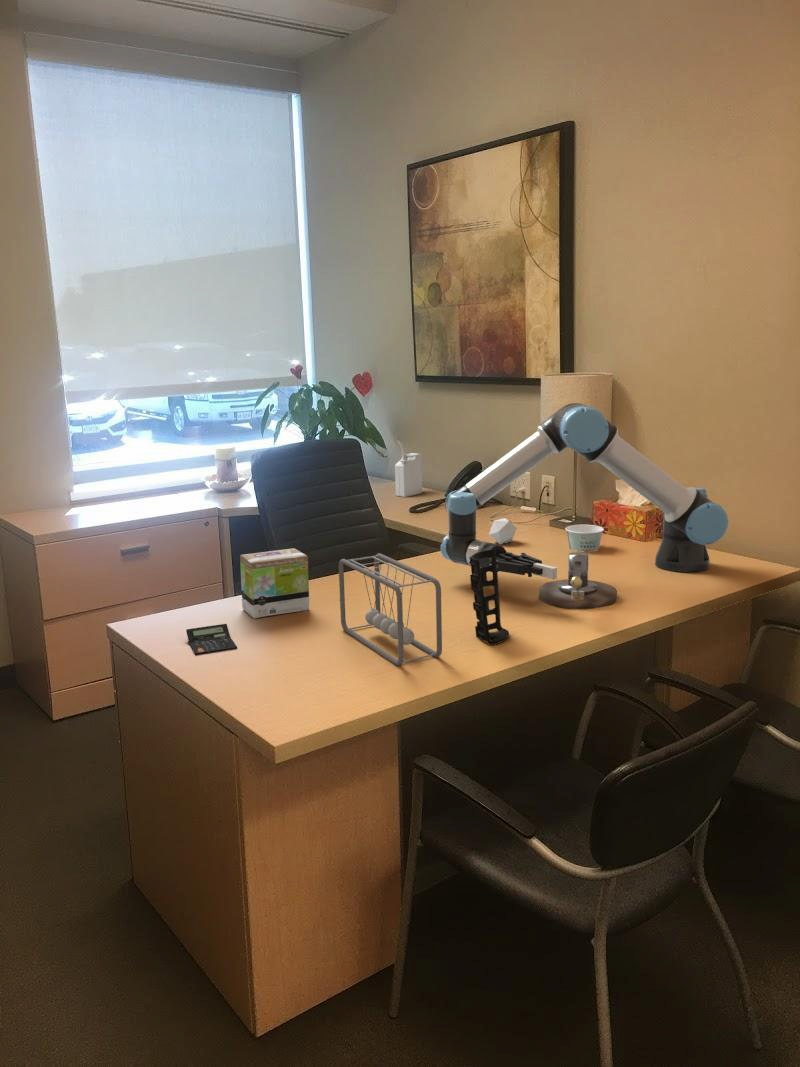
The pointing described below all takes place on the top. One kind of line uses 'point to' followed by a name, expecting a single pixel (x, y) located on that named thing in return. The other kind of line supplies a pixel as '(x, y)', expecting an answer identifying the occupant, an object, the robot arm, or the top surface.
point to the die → (502, 531)
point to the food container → (584, 537)
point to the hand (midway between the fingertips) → (554, 573)
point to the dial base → (578, 596)
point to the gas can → (408, 474)
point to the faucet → (578, 575)
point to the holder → (486, 598)
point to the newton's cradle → (381, 620)
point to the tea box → (274, 582)
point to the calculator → (210, 639)
